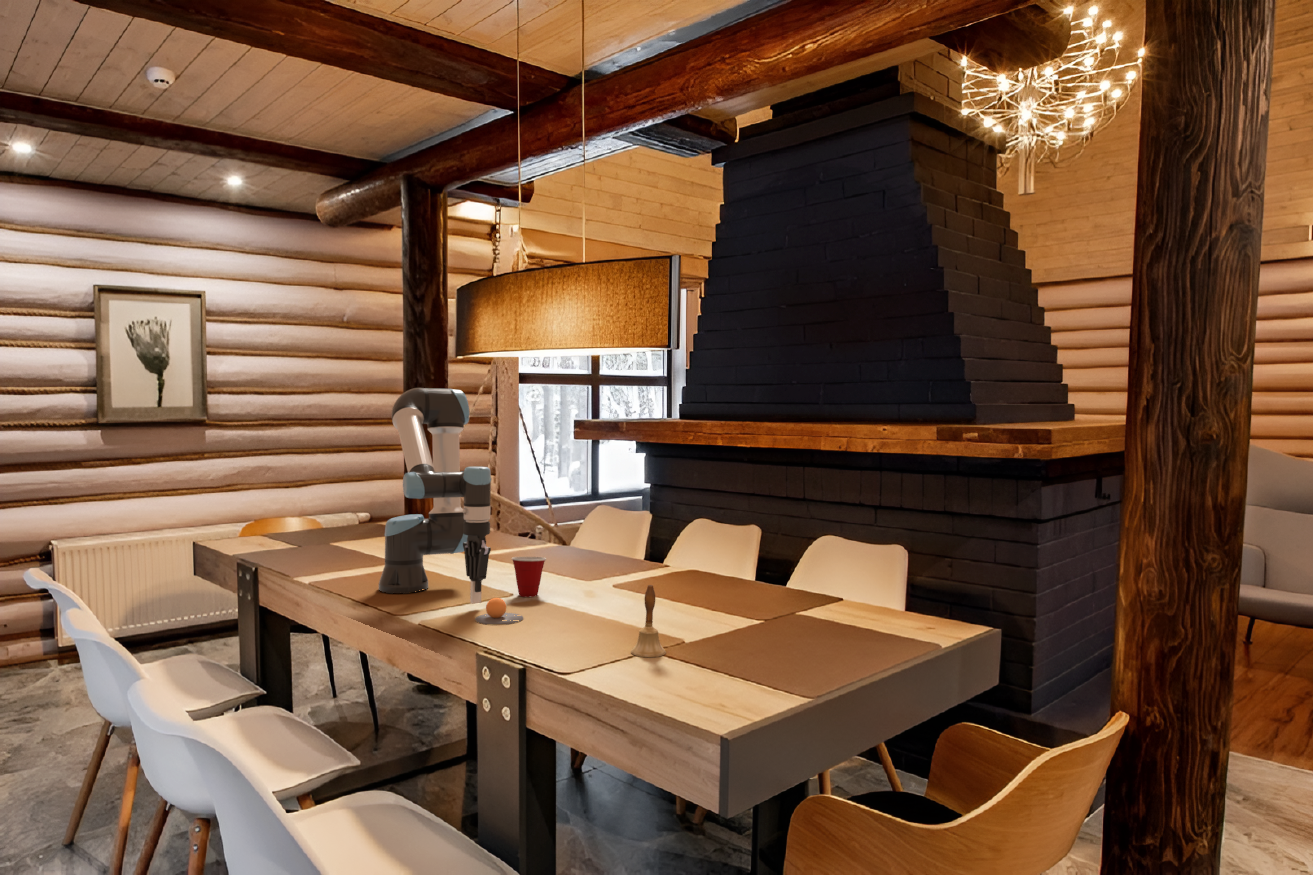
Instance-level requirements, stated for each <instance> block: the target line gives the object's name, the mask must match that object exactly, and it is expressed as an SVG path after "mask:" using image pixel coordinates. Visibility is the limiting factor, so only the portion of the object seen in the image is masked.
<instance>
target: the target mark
mask: <svg viewBox="0 0 1313 875" xmlns="http://www.w3.org/2000/svg"><path fill="white" fill-rule="evenodd" d="M485 615H486V616H485ZM506 615H507V616H506ZM514 615H515V616H514ZM517 615H520V614H518V613H512V612H505V614H504V615H503V616H501V617H499V618H492V617H490V616H489V615H488V614H487V613H484V614H481V615H478V616H476V617H475V618H474V621H475V620H476V621H477V622H476V621H475V622H476V623H478V622H479V623H478V624H481V623H482V624H483V625H487V624H506V625H513V624H516V623H515V622H517V623H519V622H518V621H513V620H519V621H520V622H522V621H523V620H524V617H523V615H521V616H517ZM502 620H507V621H502ZM510 620H511V621H510ZM521 620H522V621H521ZM512 623H513V624H512Z"/></svg>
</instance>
